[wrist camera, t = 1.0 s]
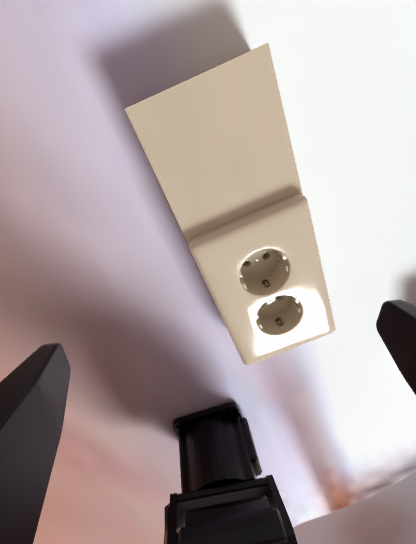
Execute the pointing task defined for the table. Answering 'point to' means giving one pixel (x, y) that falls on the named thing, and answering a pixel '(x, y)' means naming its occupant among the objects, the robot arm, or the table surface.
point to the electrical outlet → (240, 201)
